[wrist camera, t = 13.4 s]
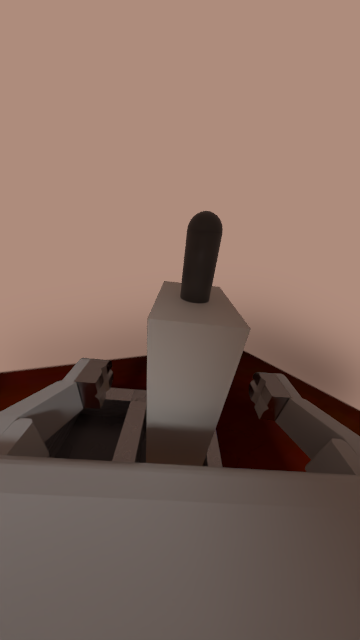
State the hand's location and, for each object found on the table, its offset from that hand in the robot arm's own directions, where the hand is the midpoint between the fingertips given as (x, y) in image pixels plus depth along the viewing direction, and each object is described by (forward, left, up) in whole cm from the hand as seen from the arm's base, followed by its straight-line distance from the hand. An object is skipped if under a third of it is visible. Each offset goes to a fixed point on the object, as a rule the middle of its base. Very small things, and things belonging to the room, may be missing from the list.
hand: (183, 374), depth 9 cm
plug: (0, 0, -9) cm, 9 cm away
